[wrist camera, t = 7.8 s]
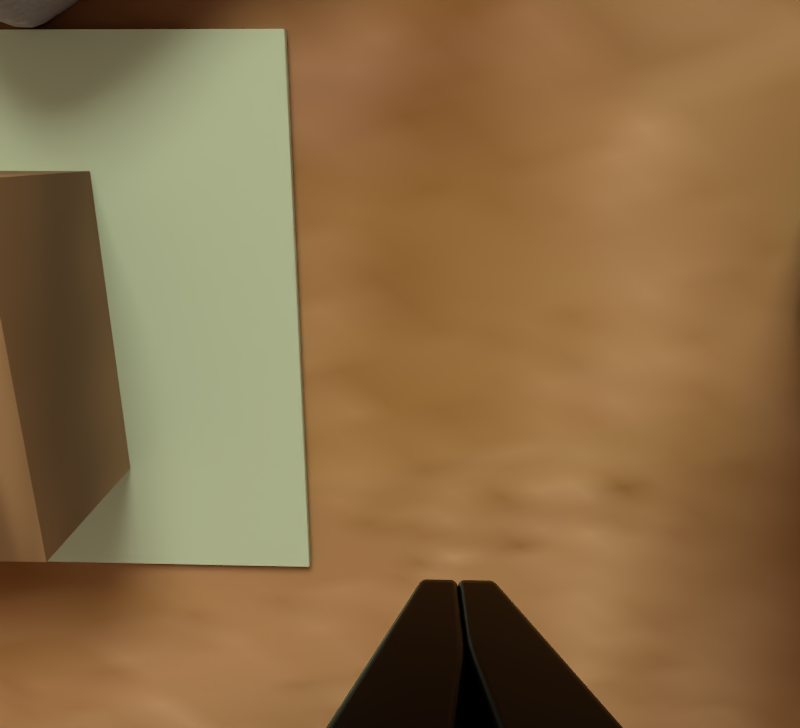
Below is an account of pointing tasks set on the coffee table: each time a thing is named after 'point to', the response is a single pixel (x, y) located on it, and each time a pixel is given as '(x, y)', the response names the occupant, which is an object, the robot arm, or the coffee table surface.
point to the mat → (182, 277)
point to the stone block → (31, 11)
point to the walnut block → (54, 364)
